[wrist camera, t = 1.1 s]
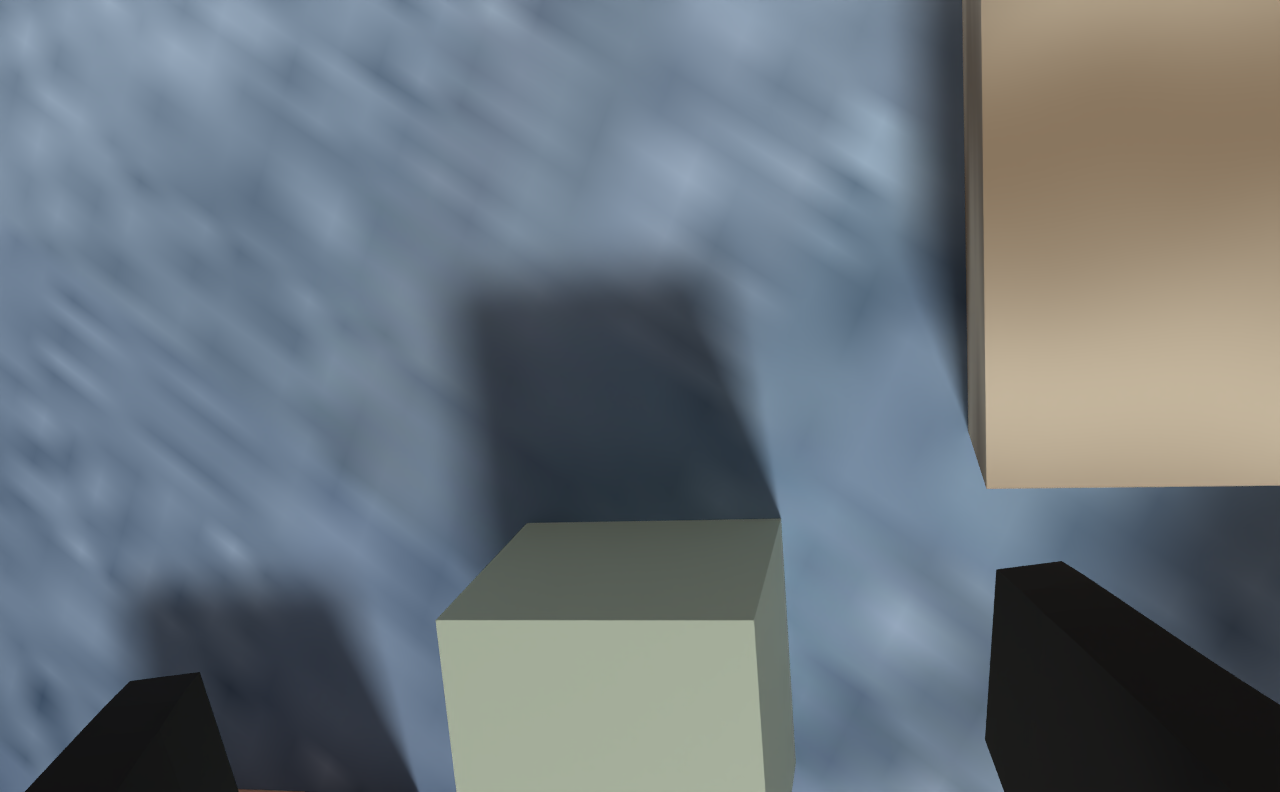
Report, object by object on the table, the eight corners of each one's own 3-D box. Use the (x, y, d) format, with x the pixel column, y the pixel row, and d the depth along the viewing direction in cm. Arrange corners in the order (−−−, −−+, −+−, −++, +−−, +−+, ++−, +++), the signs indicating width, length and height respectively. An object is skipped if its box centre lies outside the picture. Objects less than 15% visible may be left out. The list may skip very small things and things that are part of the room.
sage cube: (796, 760, 23) (774, 921, 18) (552, 754, 24) (470, 905, 19) (781, 517, 22) (754, 620, 17) (527, 521, 23) (435, 620, 18)
